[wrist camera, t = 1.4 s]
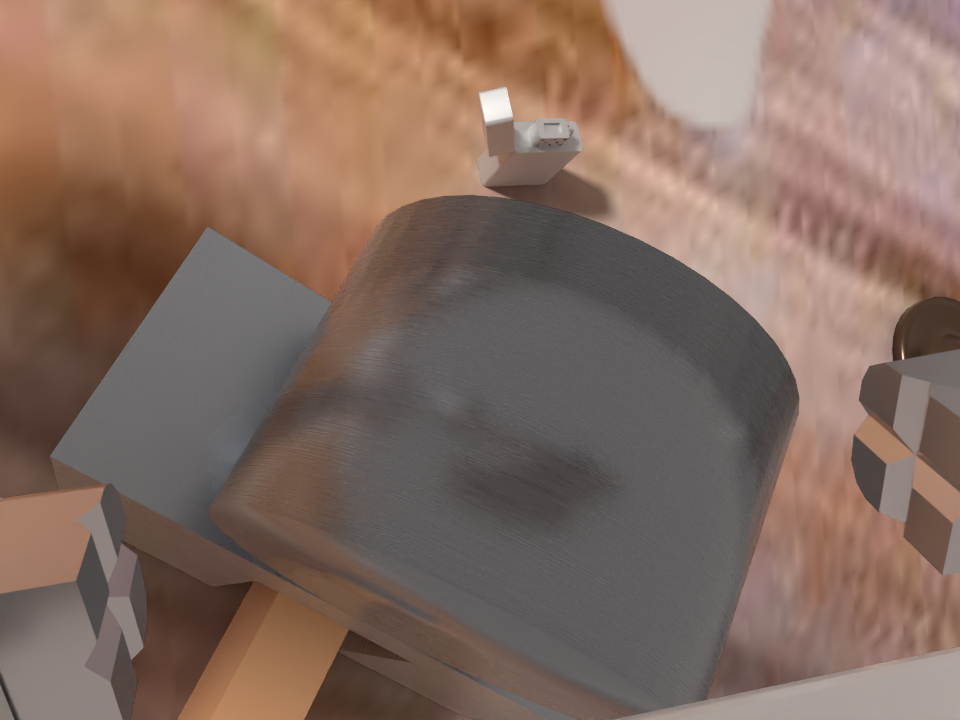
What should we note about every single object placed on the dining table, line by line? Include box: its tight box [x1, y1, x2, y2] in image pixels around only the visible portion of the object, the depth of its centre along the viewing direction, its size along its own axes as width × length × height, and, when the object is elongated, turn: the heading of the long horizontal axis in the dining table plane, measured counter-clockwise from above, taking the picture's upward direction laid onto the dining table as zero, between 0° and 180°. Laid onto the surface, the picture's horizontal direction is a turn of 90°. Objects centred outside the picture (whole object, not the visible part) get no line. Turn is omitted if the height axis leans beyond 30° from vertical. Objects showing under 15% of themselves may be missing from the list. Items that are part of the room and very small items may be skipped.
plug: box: [177, 581, 349, 720], centre depth 38 cm, size 12×3×8 cm, turn 154°
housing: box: [50, 195, 799, 720], centre depth 30 cm, size 8×20×28 cm, turn 64°
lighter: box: [477, 87, 583, 187], centre depth 47 cm, size 7×2×8 cm, turn 103°
